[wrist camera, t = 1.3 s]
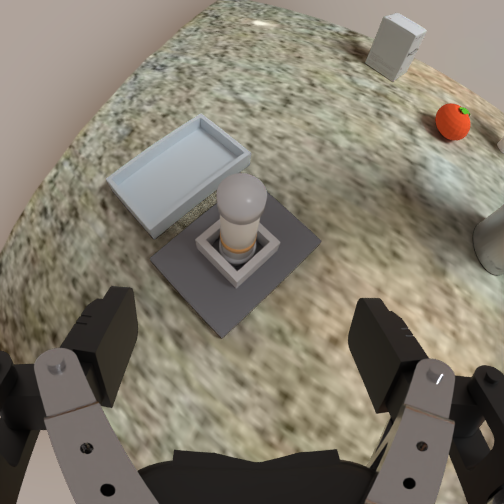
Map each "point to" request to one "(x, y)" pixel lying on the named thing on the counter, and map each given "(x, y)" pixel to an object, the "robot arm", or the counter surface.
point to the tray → (177, 173)
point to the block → (233, 277)
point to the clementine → (453, 121)
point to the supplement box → (395, 46)
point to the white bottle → (239, 216)
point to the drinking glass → (501, 145)
